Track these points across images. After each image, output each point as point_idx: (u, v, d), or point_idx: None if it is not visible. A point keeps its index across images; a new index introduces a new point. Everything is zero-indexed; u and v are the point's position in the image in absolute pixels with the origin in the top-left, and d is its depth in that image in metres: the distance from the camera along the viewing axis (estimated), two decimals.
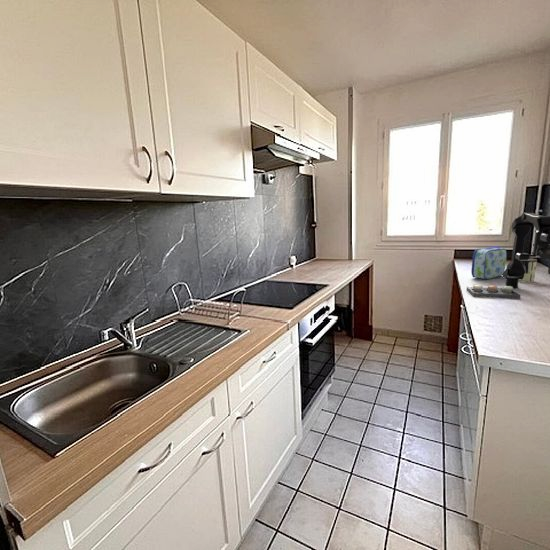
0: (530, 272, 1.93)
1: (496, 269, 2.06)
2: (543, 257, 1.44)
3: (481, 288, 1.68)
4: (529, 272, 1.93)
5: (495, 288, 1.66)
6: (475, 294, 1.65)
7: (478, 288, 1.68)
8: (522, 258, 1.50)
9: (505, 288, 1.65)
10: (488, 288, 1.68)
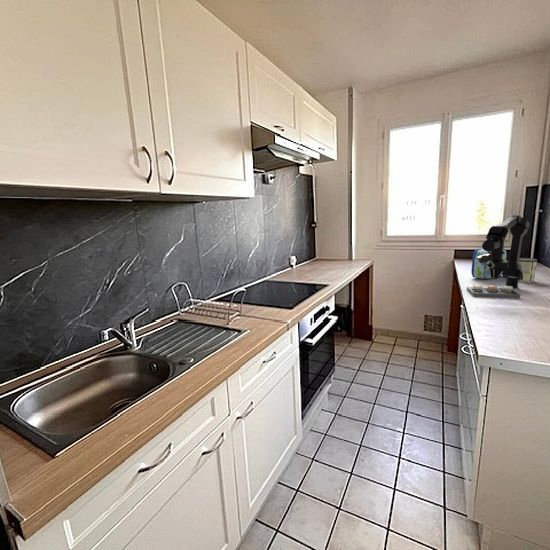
0: (530, 272, 1.93)
1: None
2: None
3: (481, 288, 1.68)
4: (529, 272, 1.93)
5: (495, 288, 1.66)
6: (475, 294, 1.65)
7: (478, 288, 1.68)
8: None
9: (505, 288, 1.65)
10: (488, 288, 1.68)
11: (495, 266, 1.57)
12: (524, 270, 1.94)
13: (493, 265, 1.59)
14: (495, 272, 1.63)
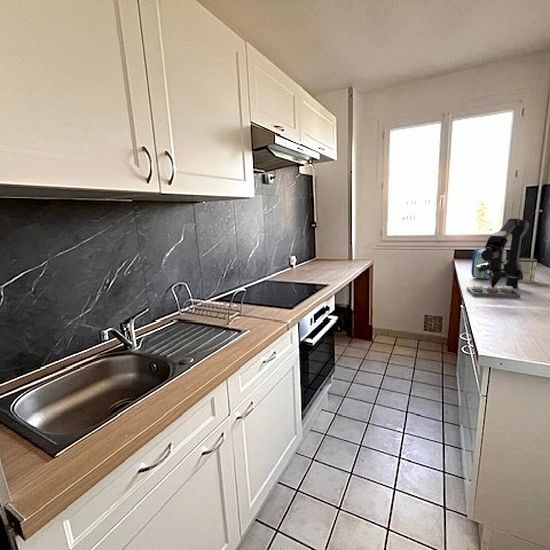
0: (530, 272, 1.93)
1: None
2: None
3: (481, 288, 1.68)
4: (529, 272, 1.93)
5: (495, 289, 1.66)
6: (475, 294, 1.65)
7: (478, 288, 1.68)
8: None
9: (505, 288, 1.65)
10: (488, 289, 1.68)
11: (494, 276, 1.58)
12: (524, 270, 1.94)
13: (492, 274, 1.60)
14: (493, 280, 1.66)
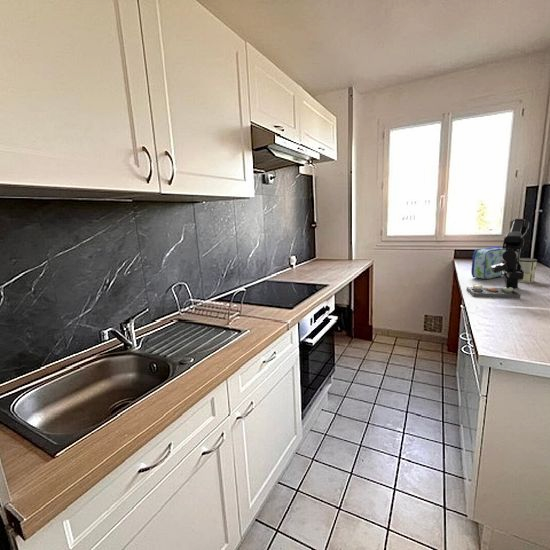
0: (530, 272, 1.93)
1: None
2: None
3: (481, 288, 1.68)
4: (529, 272, 1.93)
5: (495, 290, 1.66)
6: (475, 294, 1.65)
7: (478, 288, 1.68)
8: None
9: (505, 289, 1.65)
10: (488, 290, 1.68)
11: (510, 276, 1.56)
12: (524, 270, 1.94)
13: (508, 275, 1.58)
14: (508, 281, 1.64)
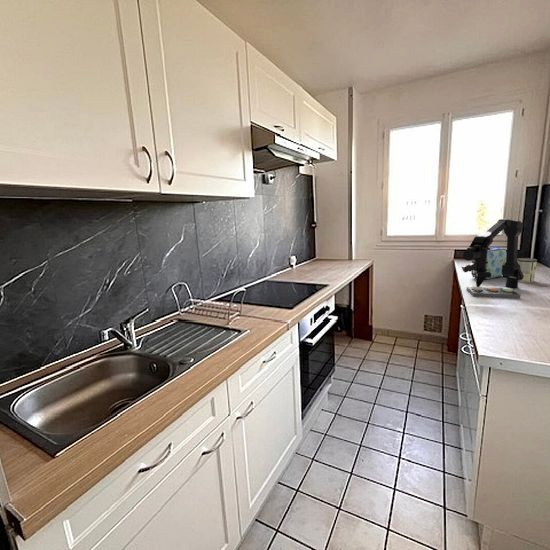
0: (530, 272, 1.93)
1: (496, 269, 2.06)
2: None
3: (481, 289, 1.68)
4: (529, 272, 1.93)
5: (495, 290, 1.66)
6: (475, 294, 1.65)
7: (478, 289, 1.68)
8: None
9: (505, 290, 1.65)
10: (488, 290, 1.68)
11: (478, 276, 1.61)
12: (524, 270, 1.94)
13: (476, 274, 1.62)
14: (478, 280, 1.68)
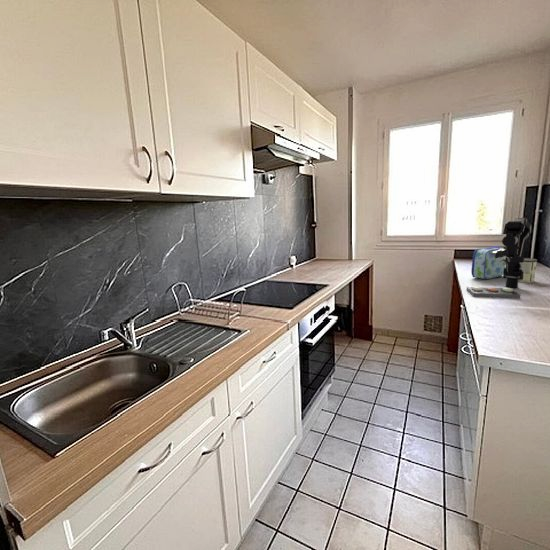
0: (530, 272, 1.93)
1: (496, 269, 2.06)
2: None
3: (481, 290, 1.68)
4: (529, 272, 1.93)
5: (495, 290, 1.66)
6: (475, 294, 1.65)
7: (478, 290, 1.68)
8: None
9: (505, 290, 1.65)
10: (488, 290, 1.68)
11: (511, 261, 1.61)
12: (524, 270, 1.94)
13: (509, 260, 1.62)
14: (509, 266, 1.68)
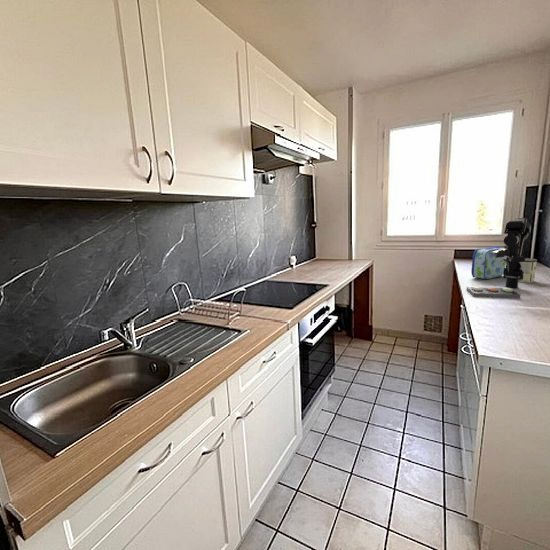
0: (530, 272, 1.93)
1: (496, 269, 2.06)
2: None
3: (481, 290, 1.68)
4: (529, 272, 1.93)
5: (495, 290, 1.66)
6: (475, 294, 1.65)
7: (478, 290, 1.68)
8: None
9: (505, 290, 1.65)
10: (488, 290, 1.68)
11: (512, 260, 1.60)
12: (524, 270, 1.94)
13: (510, 259, 1.62)
14: (510, 266, 1.68)
